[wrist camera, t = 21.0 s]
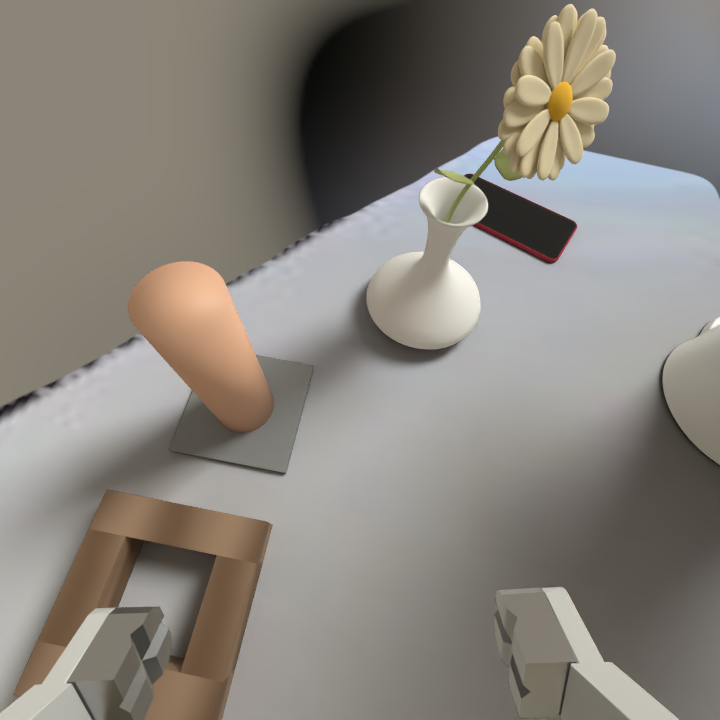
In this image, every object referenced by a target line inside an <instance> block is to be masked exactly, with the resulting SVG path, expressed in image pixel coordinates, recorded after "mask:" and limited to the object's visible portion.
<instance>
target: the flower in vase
mask: <svg viewBox="0 0 720 720" xmlns="http://www.w3.org/2000/svg"><path fill="white" fill-rule="evenodd" d="M605 26H606V23H605V20H604V18H603V17H598V18H597V13H596V10H594V9H590V10H588V11H587V12H586V13H585V14H584V15H582V16H581V17H580V18H579V20H578V21H577V11H576V9H575V8H574V6H573V5H572V4H569V5H567V6H566V7H564V8H563V10H562V11H561V13H560V15H559V18H558V16H556V15H555V16H552V17H551V18H550V19H549V20H548V22H547V24H546V26H545V28H544V32H543V36H542V42H540V40H539V39H538V38H536V37H535V36H533V37H531V38H530V39H529V41H528V42H527V44H526V46H525V47H524V48H523V50H522V51H521V54H520V57H519V61H517V62H516V63H515V64H514V66H513V68H512V71H511V81H512V84H513V87H510V88H509V89H508V90H507V91H506V93H505V95H504V101H503V102H504V107H505V111H504V115H503V120H502V121H501V123H500V125H499V127H498V136H499V138H500V139H501V141H500V143H499V144H498V145H497V147H496V148H495V149H494V151H493V152H492V153H491V155H490V156H489V157H488V158H487V160H486V161H485V162H484V163H483V164H482V166H481V167H480V168H479V169H478V170H477V172H476V173H475V174H474V175H473V177H472V178H471V179H470V180H469V179H468V178H466V177H465V176H463V175H461V174H458V173H454V172H450V171H440V170H439V169H438V168H437V167H436V168H435V171H434V172H435V173H437V174H441V175H444V176H445V178H438V179H435V180H432V181H430V182H429V183H427V184H426V185H425V186H424V187H423V188H422V190H421V191H420V194H419V203H420V206H421V209H422V210H423V212H424V213H425V215H426V216H427V220H428V237H427V243H426V248H425V251H424V252H411V253H405V254H401V255H399V256H396V257H394V258H392V259H390V260H388V261H387V262H385V263H384V264H383V265H382V266H381V267H380V268H379V269H378V270H377V271H376V273H375V274H374V275H373V277H372V278H371V280H370V282H369V285H368V288H367V295H366V301H367V307H368V311H369V313H370V315H371V318H372V319H373V321H374V322H375V324H376V325H377V326H378V327H379V329H380V330H381V331H382V332H384V333H385V334H386V335H387V336H389V337H390V338H391V339H393V340H395V341H397V342H399V343H401V344H403V345H406V346H409V347H413V348H418V349H440V348H445V347H448V346H451V345H454V344H456V343H458V342H460V341H461V340H463V339H464V338H465V337H466V336H468V335H469V334H470V333H471V331H472V330H473V329H474V327H475V326H476V324H477V321H478V319H479V315H480V307H481V305H480V296H479V291H478V288H477V286H476V284H475V282H474V280H473V279H472V277H471V276H470V275H469V273H468V272H467V271H466V270H465V269H464V268H462V267H461V266H460V265H459V264H457V263H456V262H454V261H453V260H451V259H450V256H451V253H452V251H453V248H454V246H455V244H456V242H457V240H458V238H459V237H460V235H461V234H462V233H463V231H464V230H465V229H466V228H468V227H469V226H472V225H474V224H476V223H478V222H479V221H480V220H481V219H482V218H483V217H484V216H485V215H486V213H487V210H488V201H487V198H486V196H485V195H484V193H483V192H482V191H481V190H480V189H479V188H478V187H477V186H475V185H474V182H475V181H476V179H477V178H478V177H479V176H480V175H481V173H482V172H483V171H484V170H485V169H486V167H487V166H488V165H489V164H490V163H491V161H492V160H493V159H494V160H495V166H496V168H497V170H498V171H499V173H500V174H501V175H502V177H503V178H504V179H506V180H509V181H512V180H517V179H520V178H522V177H523V178H525V177H527V178H528V179H531V178H533V177H534V175H535V174H536V172H537V175H538V178H539V179H540V180H545V179H546V178H547V177H548V178H549V179H550V180H555V179H556V178H557V177H558V175H559V172H560V170H561V169H562V168H563V166H564V162H565V156H566V157H567V159H568V160H569V162H571V163H572V164H577V163H578V162H579V161H580V160H581V158H582V156H583V147H588V146H589V145H590V144H591V143H592V141H593V139H594V136H595V134H594V130H593V128H594V125H596V124H600V123H602V122H603V121H604V120H605V119H606V117H607V115H608V112H609V106H608V104H607V103H606V102H604V101H603V100H604V99H605V98H606V97H607V96H608V95H609V94H610V92H611V90H612V81H611V80H610V79H609V78H610V75H611V68H612V67H613V65H614V63H615V57H616V56H615V52H614V51H613V50H608V47H607V46H606V45H602V43H603V41H604V39H605V37H606V27H605ZM502 147H503V149H502V150H501V148H502ZM500 150H501V151H500ZM499 151H500V152H499ZM498 152H499V153H498ZM496 155H497V156H496ZM495 156H496V157H495Z"/></svg>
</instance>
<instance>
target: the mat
mask: <svg viewBox="0 0 720 720" xmlns="http://www.w3.org/2000/svg"><path fill="white" fill-rule="evenodd" d="M256 357H257V359H258V362H259V364H260V366H261V369H262V371H263V373H264V376H265V378H266V380H267V383H268V385H269V387H270V390H271V392H272V394H273V397H274V408H273V412H272V414H271V416H270V418H269V419H268V421H267V422H266V423H265V424H264V425H262V426H261V427H260V428H258V429H256V430H253V431H250V432H245V433H240V432H234V431H231V430H229V429H228V428H226V427H225V426H224V425H223V424H222V423H221V422H220V421H219V420H218V419H217V418H216V416H215V415H214V414H213V413H212V412H211V411H210V410H209V409H208V407H207V406H206V405H205V404H204V403H203V402H202V401H201V400H200V399H199V397H198V396H197V395H196V394H195V393H194V392H193V391H192V394H191V396H190V398H189V401H188V403H187V406H186V408H185V411H184V413H183V416H182V418H181V421H180V423H179V426H178V428H177V431H176V433H175V435H174V438H173V440H172V443H171V445H170V448H169V450H170V451H173V452H178V453H183V454H188V455H193V456H198V457H203V458H208V459H214V460H219V461H224V462H229V463H234V464H239V465H244V466H249V467H255V468H260V469H265V470H270V471H275V472H280V473H285V474H286V472H287V468H288V464H289V460H290V456H291V452H292V449H293V445H294V441H295V437H296V433H297V430H298V426H299V422H300V418H301V414H302V410H303V407H304V403H305V399H306V395H307V391H308V388H309V384H310V380H311V376H312V372H313V368H314V366H313V365H308V364H302V363H297V362H291V361H286V360H280V359H275V358H269V357H264V356H258V355H256Z"/></svg>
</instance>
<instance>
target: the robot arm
mask: <svg viewBox="0 0 720 720" xmlns="http://www.w3.org/2000/svg"><path fill="white" fill-rule="evenodd" d="M663 389H664V394H665V398H666V401H667V404H668V406H669V409H670V411H671V413H672V415H673V417H674V418H675V420H676V422H677V423H678V425H679V426H680V428H681V429H682V430H683V432H684V433H685V434H686V435H687V437H688V438H689V439H690V440H691V441H692V442H693V443H694V444H695V445H696V446H697V447H698V448H699V449H700V450H701V451H702V452H703V453H704V454H706V455H707V456H708V457H709V458H711V459H712V460H713V461H715V462H716V463H718V464H719V465H720V317H718V318H716V319H714V320H712V321H710V322H708V323H707V324H706V326H705V327H704V329H703V330H702V332H701V333H700V335H699V336H697V337H696V338H694V339H691V340H689V341H687V342H685V343H683V344H681V345H679V346H678V347H677V348H676V349H674V350H673V351H672V353H671V354H670V355H669V357H668V359H667V361H666V363H665V366H664V370H663ZM495 601H496V604H497V607H498V611H497V612H496V613H495V614H494V628H495V636H496V641H497V645H498V649H499V653H500V656H501V660H502V661H503V662H504V663H505V664H506V665H507V666H508V667H509V680H508V683H509V686H510V690H511V693H512V696H513V699H514V703H515V706H516V709H517V712H518V716H519V718H560V720H679V719H678V718H677V717H676V716H675V715H673V714H672V713H671V712H670V711H669V710H667V709H666V708H665V707H664V706H663V705H662V704H660V703H659V702H658V701H657V700H656V699H655V698H653V697H652V696H651V695H650V694H649V693H647V692H646V691H645V690H644V689H643V688H642V687H640V686H639V685H638V684H637V683H636V682H634V681H633V680H632V679H631V678H630V677H629V676H627V675H626V674H625V673H624V672H623V671H622V670H620V669H619V668H618V667H617V666H616V665H614V664H613V663H612V662H604V660H603V658H602V656H601V655H600V653H599V651H598V649H597V647H596V645H595V643H594V641H593V639H592V638H591V636H590V634H589V632H588V630H587V628H586V626H585V624H584V622H583V621H582V619H581V617H580V615H579V613H578V611H577V609H576V607H575V605H574V604H573V602H572V600H571V598H570V596H569V594H568V592H567V591H566V590H565V589H564V588H563V587H550V588H539V587H537V588H522V589H506V590H498V591H497V592H496V599H495ZM163 617H164V614H163V612H162V610H161V608H160V607H122V608H118V607H116V608H96V609H95V610H93V611H92V612H91V613H90V614H89V615H88V616H87V617H86V619H85V620H84V622H83V623H82V625H81V626H80V628H79V629H78V631H77V632H76V634H75V635H74V637H73V638H72V640H71V641H70V643H69V644H68V646H67V647H66V649H65V650H64V651H63V653H62V654H61V656H60V657H59V659H58V660H57V662H56V663H55V665H54V666H53V668H52V669H51V671H50V672H49V674H48V675H47V677H46V678H45V680H44V681H43V683H42V684H38V685H34V686H33V687H32V688H30V689H29V690H28V691H27V692H25V693H24V694H23V695H22V696H21V697H19V698H18V699H17V700H16V701H14V702H13V703H12V704H11V705H9V706H8V707H7V708H6V709H4V710H3V711H2V712H1V713H0V720H144V718H145V716H146V714H147V711H148V709H149V707H150V704H151V702H152V699H153V697H154V692H153V686H152V685H153V684H154V683H155V682H156V681H157V680H158V679H159V678H160V677H161V676H162V675H163V673H164V671H165V669H166V666H167V664H168V661H169V657H170V652H171V647H172V638H171V633H170V630H169V628H168V627H166V626H165V625H164V624H162V623H161V621H162V619H163Z"/></svg>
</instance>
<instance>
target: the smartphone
mask: <svg viewBox="0 0 720 720" xmlns="http://www.w3.org/2000/svg"><path fill="white" fill-rule="evenodd" d="M464 176H465V177H466V178H468V179H469V180H470V179H471V178H472V177H473V174H466V175H464ZM474 185H475V186H477V187H478V188H479V189H480V190H481V191H482V192H483V193H484V195H485V196H486V198H487V201H488V210H487V213H486V215H485V216H484V217H483V218H482V219H481V220H480V221H479V222H478V223H476V224H474V225H475V226H477V227H479V228H481V229H483V230H485V231H487V232H489V233H491V234H493V235H495V236H497V237H499V238H501V239H503V240H505V241H507V242H509V243H511V244H513V245H515V246H517V247H519V248H521V249H523V250H525V251H527V252H529V253H531V254H533V255H535V256H537V257H539V258H541V259H543V260H545V261H547V262H555V261H557V260H558V259H559V257H560V255H561V254H562V252H563V250H564V249H565V247H566V245H567V244H568V242H569V240H570V239H571V237H572V235H573V234H574V232H575V230H576V229H577V225H576V223H575V222H574V221H573V220H570V219H568V218H566V217H564V216H562V215H560V214H558V213H555V212H553V211H551V210H549V209H547V208H545V207H542V206H540V205H538V204H536V203H534V202H532V201H529V200H527V199H525V198H523V197H521V196H519V195H516V194H514V193H512V192H510V191H508V190H506V189H503V188H501V187H499V186H497V185H495V184H493V183H491V182H488V181H486V180H484V179H482V178H480V177H478V178H477V179H476V181H475V182H474Z"/></svg>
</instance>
